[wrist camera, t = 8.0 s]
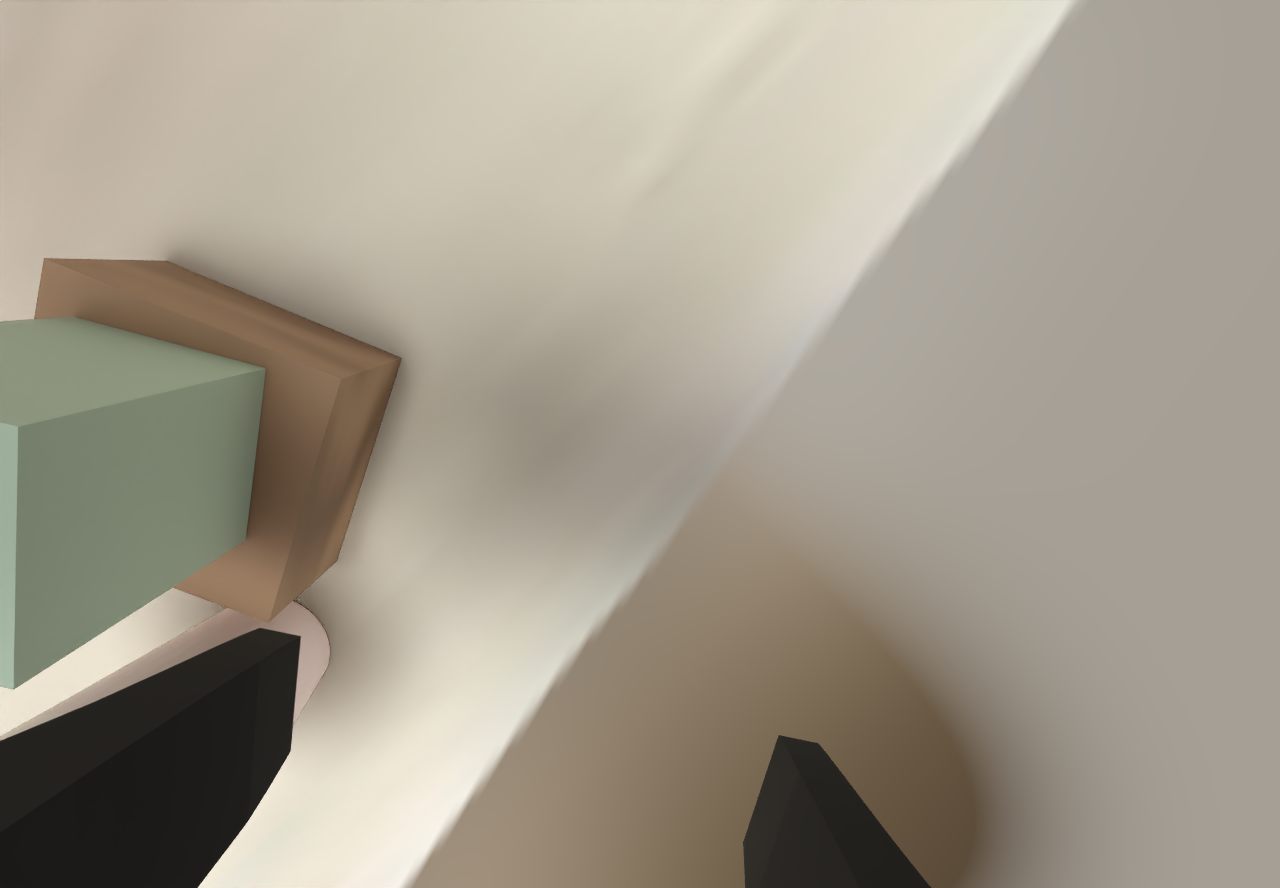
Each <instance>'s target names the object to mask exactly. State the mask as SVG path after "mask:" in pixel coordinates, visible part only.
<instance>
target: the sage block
mask: <svg viewBox="0 0 1280 888" xmlns="http://www.w3.org/2000/svg"><path fill="white" fill-rule="evenodd" d="M265 374H266V368H263V367H260V366H256V365H252V364H249V363H245V362H241V361H237V360H234V359H230V358H226V357H222V356H219V355H215V354H211V353H207V352H204V351H200V350H196V349H192V348H189V347H185V346H181V345H177V344H174V343H170V342H166V341H163V340H159V339H155V338H151V337H148V336H144V335H140V334H136V333H133V332H129V331H125V330H121V329H118V328H114V327H110V326H106V325H103V324H99V323H95V322H91V321H88V320H84V319H80V318H77V317H60V318H45V319H31V320H17V321H2V322H0V686H1V687H5V688H9V689H13V690H14V689H15V688H17V687H18V686H20V685H21V684H23V683H24V682H26V681H28V680H29V679H31V678H32V677H34V676H35V675H37V674H38V673H40V672H42V671H43V670H45V669H46V668H48V667H49V666H51V665H52V664H54V663H56V662H57V661H59V660H60V659H62V658H63V657H65V656H66V655H68V654H70V653H71V652H73V651H74V650H76V649H77V648H79V647H80V646H82V645H84V644H85V643H87V642H88V641H90V640H91V639H93V638H94V637H96V636H98V635H99V634H101V633H102V632H104V631H105V630H107V629H108V628H110V627H112V626H113V625H115V624H116V623H118V622H119V621H121V620H122V619H124V618H125V617H127V616H129V615H130V614H132V613H133V612H135V611H136V610H138V609H139V608H141V607H143V606H144V605H146V604H147V603H149V602H150V601H152V600H153V599H155V598H157V597H158V596H160V595H161V594H163V593H164V592H166V591H167V590H169V589H171V588H172V587H174V586H175V585H177V584H178V583H180V582H181V581H183V580H185V579H186V578H188V577H189V576H191V575H192V574H194V573H195V572H197V571H199V570H200V569H202V568H203V567H205V566H206V565H208V564H209V563H211V562H213V561H214V560H216V559H217V558H219V557H220V556H222V555H223V554H225V553H227V552H228V551H230V550H231V549H233V548H234V547H236V546H237V545H239V544H241V543H242V542H244V541H245V540H246V533H247V525H248V516H249V508H250V499H251V491H252V483H253V474H254V466H255V457H256V449H257V441H258V432H259V424H260V415H261V407H262V399H263V390H264V382H265Z"/></svg>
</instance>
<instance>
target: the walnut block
mask: <svg viewBox="0 0 1280 888" xmlns="http://www.w3.org/2000/svg"><path fill="white" fill-rule="evenodd" d="M60 317H77V318H80V319H84V320H88V321H91V322H95V323H99V324H103V325H106V326H110V327H114V328H118V329H121V330H125V331H129V332H133V333H136V334H140V335H144V336H148V337H151V338H155V339H159V340H163V341H166V342H170V343H174V344H177V345H181V346H185V347H189V348H192V349H196V350H200V351H204V352H207V353H211V354H215V355H219V356H222V357H226V358H230V359H234V360H237V361H241V362H245V363H249V364H252V365H256V366H260V367H263V368H266V374H265V382H264V390H263V399H262V407H261V415H260V424H259V432H258V441H257V449H256V457H255V466H254V474H253V483H252V491H251V499H250V508H249V516H248V525H247V533H246V540H245V541H244V542H242V543H241V544H239V545H237V546H236V547H234V548H233V549H231V550H230V551H228V552H227V553H225V554H223V555H222V556H220V557H219V558H217V559H216V560H214V561H213V562H211V563H209V564H208V565H206V566H205V567H203V568H202V569H200V570H199V571H197V572H195V573H194V574H192V575H191V576H189V577H188V578H186V579H185V580H183V581H181V582H180V583H178V584H177V585H175V586H174V587H173V588H176V589H178V590H181V591H184V592H187V593H189V594H192V595H195V596H197V597H200V598H203V599H205V600H208V601H211V602H214V603H216V604H219V605H222V606H224V607H227V608H230V609H232V610H235V611H238V612H241V613H243V614H246V615H249V616H251V617H254V618H257V619H259V620H262V621H265V622H268V623H269V622H270V621H271V620H272V619H273V618H274V617H276V616H277V615H278V614H279V613H280V612H281V611H282V610H283V609H284V608H285V607H287V606H288V605H289V604H290V603H291V602H292V601H293V600H294V599H295V598H296V597H298V596H299V595H300V594H301V593H302V592H303V591H304V590H305V589H306V588H307V587H309V586H310V585H311V584H312V583H313V582H314V581H315V580H316V579H317V578H319V577H320V576H321V575H322V574H323V573H324V572H325V571H326V570H327V569H328V568H330V567H331V566H332V565H333V564H334V563H335V562H336V561H337V559H338V555H339V552H340V549H341V546H342V543H343V540H344V537H345V534H346V531H347V527H348V524H349V521H350V518H351V515H352V512H353V509H354V506H355V503H356V499H357V496H358V493H359V490H360V487H361V484H362V481H363V478H364V475H365V471H366V468H367V465H368V462H369V459H370V456H371V453H372V450H373V447H374V443H375V440H376V437H377V434H378V431H379V428H380V425H381V422H382V419H383V415H384V412H385V409H386V406H387V403H388V400H389V397H390V394H391V391H392V387H393V384H394V381H395V378H396V375H397V372H398V369H399V366H400V363H401V359H402V358H400V357H398V356H395V355H393V354H390V353H388V352H386V351H383V350H381V349H378V348H376V347H374V346H371V345H369V344H366V343H364V342H361V341H359V340H357V339H354V338H352V337H349V336H347V335H344V334H342V333H340V332H337V331H335V330H332V329H330V328H327V327H325V326H323V325H320V324H318V323H315V322H313V321H310V320H308V319H306V318H303V317H301V316H298V315H296V314H293V313H291V312H289V311H286V310H284V309H281V308H279V307H277V306H274V305H272V304H269V303H267V302H264V301H262V300H260V299H257V298H255V297H252V296H250V295H247V294H245V293H243V292H240V291H238V290H235V289H233V288H230V287H228V286H226V285H223V284H221V283H218V282H216V281H213V280H211V279H209V278H206V277H204V276H201V275H199V274H196V273H194V272H192V271H189V270H187V269H184V268H182V267H180V266H177V265H175V264H172V263H170V262H167V261H143V260H97V259H51V258H44V262H43V268H42V274H41V280H40V286H39V292H38V299H37V305H36V311H35V317H34V319H45V318H60Z"/></svg>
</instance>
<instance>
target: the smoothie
mask: <svg viewBox="0 0 1280 888" xmlns="http://www.w3.org/2000/svg"><path fill="white" fill-rule="evenodd" d="M258 628H264V629H269V630H274V631H279V632H283V633H288V634H293V635H298V636H301V642H300V653H299V664H298V675H297V685H296V696H295V707H294V718H293V724H294V723H295V721H296V719H297V718H298V716H299V714H300V713H301V711H302V709H303V708H304V706H305V704H306V703H307V701H308V699H309V698H310V696H311V694H312V693H313V691H314V689H315V688H316V686H317V684H318V683H319V681H320V679H321V678H322V676H323V674H324V672H325V671H326V669H327V666H328V663H329V659H330V645H329V640H328V637H327V634H326V632H325V630H324V628H323V626H322V625H321V623H320V622H319V621H318V619H317V618H316V617H315V616H314V615H313V614H312V613H311V612H310V611H309V610H307V609H306V608H305V607H303V606H302V605H300V604H298V603H297V602H295V601H292V602H291V603H290V604H289V605H288V606H287V607H285V608H284V609H283V610H282V611H281V612H280V613H279V614H278V615H277V616H276V617H274V618H273V619H272V620H271V621H270V622H269V623H268V622H265V621H262V620H259V619H257V618H254V617H251V616H249V615H246V614H243V613H241V612H238V611H235V610H232V609H230V608H226V609H225V610H223V611H221V612H219V613H218V614H216V615H214V616H212V617H211V618H209V619H207V620H205V621H204V622H202V623H200V624H198V625H196V626H195V627H193V628H191V629H189V630H188V631H186V632H184V633H182V634H181V635H179V636H177V637H175V638H174V639H172V640H170V641H168V642H167V643H165V644H163V645H161V646H159V647H158V648H156V649H154V650H152V651H151V652H149V653H147V654H145V655H144V656H142V657H140V658H138V659H137V660H135V661H133V662H131V663H130V664H128V665H126V666H124V667H123V668H121V669H119V670H117V671H115V672H114V673H112V674H110V675H108V676H107V677H105V678H103V679H101V680H100V681H98V682H96V683H94V684H93V685H91V686H89V687H87V688H86V689H84V690H82V691H80V692H78V693H77V694H75V695H73V696H71V697H70V698H68V699H66V700H64V701H63V702H61V703H59V704H57V705H56V706H54V707H52V708H50V709H49V710H47V711H45V712H43V713H41V714H40V715H38V716H36V717H34V718H33V719H31V720H29V721H27V722H25V723H23V724H21V725H19V726H17V727H16V728H14V729H12V730H11V731H9V732H7V733H6V734H4V735H2V736H0V741H1V740H3V739H6V738H8V737H11V736H13V735H16V734H18V733H20V732H23V731H25V730H28V729H30V728H32V727H35V726H37V725H40V724H42V723H44V722H47V721H49V720H52V719H54V718H56V717H59V716H61V715H64V714H66V713H69V712H71V711H73V710H76V709H78V708H81V707H83V706H85V705H88V704H90V703H93V702H95V701H97V700H99V699H102V698H104V697H106V696H108V695H111V694H113V693H115V692H117V691H119V690H122V689H124V688H126V687H128V686H130V685H133V684H135V683H137V682H139V681H142V680H144V679H146V678H148V677H150V676H153V675H155V674H157V673H159V672H161V671H164V670H166V669H168V668H170V667H172V666H175V665H177V664H179V663H181V662H183V661H185V660H188V659H190V658H192V657H194V656H196V655H198V654H201V653H203V652H205V651H207V650H209V649H211V648H214V647H216V646H218V645H220V644H222V643H225V642H227V641H229V640H231V639H234V638H236V637H238V636H240V635H243V634H245V633H248V632H250V631H253V630H255V629H258Z"/></svg>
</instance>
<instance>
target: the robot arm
mask: <svg viewBox="0 0 1280 888" xmlns="http://www.w3.org/2000/svg"><path fill="white" fill-rule="evenodd" d="M300 642H301V636H298V635H293V634H288V633H283V632H279V631H274V630H269V629H264V628H258V629H255V630H253V631H250V632H248V633H245V634H243V635H240V636H238V637H236V638H234V639H231V640H229V641H227V642H225V643H222V644H220V645H218V646H216V647H214V648H211V649H209V650H207V651H205V652H203V653H201V654H198V655H196V656H194V657H192V658H190V659H188V660H185V661H183V662H181V663H179V664H177V665H175V666H172V667H170V668H168V669H166V670H164V671H161V672H159V673H157V674H155V675H153V676H150V677H148V678H146V679H144V680H142V681H139V682H137V683H135V684H133V685H130V686H128V687H126V688H124V689H122V690H119V691H117V692H115V693H113V694H111V695H108V696H106V697H104V698H102V699H99V700H97V701H95V702H93V703H90V704H88V705H85V706H83V707H81V708H78V709H76V710H73V711H71V712H69V713H66V714H64V715H61V716H59V717H56V718H54V719H52V720H49V721H47V722H44V723H42V724H40V725H37V726H35V727H32V728H30V729H28V730H25V731H23V732H20V733H18V734H16V735H13V736H11V737H8V738H6V739H3V740H1V741H0V888H198V886H199V885H200V884H201V882H202V881H203V880H204V879H205V877H206V876H207V875H208V873H209V872H210V871H211V869H212V868H213V867H214V865H215V864H216V863H217V861H218V860H219V859H220V858H221V856H222V855H223V854H224V852H225V851H226V850H227V848H228V847H229V846H230V844H231V843H232V842H233V840H234V839H235V838H236V836H237V835H238V834H239V832H240V831H241V830H242V828H243V827H244V826H245V824H246V823H247V822H248V820H249V819H250V817H251V816H252V814H253V812H254V811H255V809H256V808H257V806H258V804H259V803H260V801H261V800H262V798H263V796H264V795H265V793H266V792H267V790H268V788H269V787H270V785H271V783H272V782H273V780H274V778H275V777H276V775H277V773H278V771H279V770H280V768H281V766H282V765H283V763H284V761H285V760H286V758H287V756H288V755H289V753H290V751H291V740H292V729H293V718H294V707H295V696H296V685H297V675H298V664H299V653H300ZM743 846H744V867H745V888H931V887H930V886H929V885H928V883H927V882H926V881H925V880H924V879H923V877H922V876H921V875H920V874H919V872H918V871H917V870H916V869H915V867H914V866H913V865H912V864H911V862H910V861H909V860H908V859H907V857H906V856H905V855H904V854H903V852H902V851H901V850H900V848H899V847H898V846H897V845H896V843H895V842H894V841H893V840H892V838H891V837H890V836H889V835H888V833H887V832H886V831H885V829H884V828H883V827H882V826H881V824H880V823H879V821H878V820H877V819H876V818H875V816H874V815H873V814H872V812H871V811H870V810H869V808H868V807H867V806H866V804H865V803H864V802H863V800H862V799H861V798H860V797H859V795H858V794H857V793H856V791H855V790H854V789H853V787H852V786H851V785H850V783H849V782H848V781H847V780H846V778H845V777H844V775H843V774H842V773H841V772H840V771H839V769H838V768H837V767H836V765H835V764H834V762H833V761H832V760H831V759H830V757H829V756H828V755H827V753H826V752H825V751H824V750H823V749H822V747H821V746H820V745H819V744H818V743H814V742H809V741H804V740H799V739H794V738H789V737H785V736H780V735H779V736H778V739H777V742H776V745H775V748H774V751H773V754H772V758H771V760H770V763H769V766H768V770H767V772H766V775H765V778H764V781H763V784H762V787H761V790H760V794H759V797H758V800H757V803H756V806H755V809H754V812H753V815H752V818H751V821H750V824H749V827H748V830H747V833H746V836H745V839H744V842H743Z"/></svg>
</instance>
